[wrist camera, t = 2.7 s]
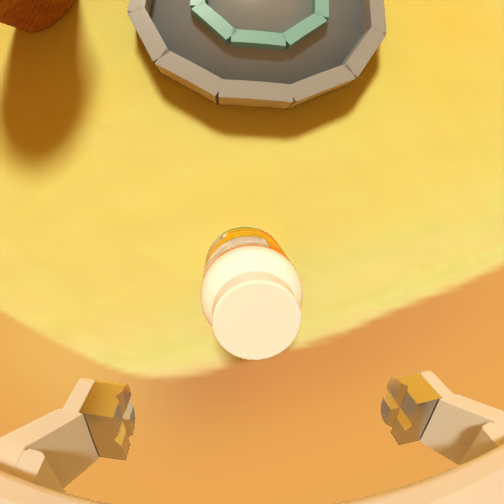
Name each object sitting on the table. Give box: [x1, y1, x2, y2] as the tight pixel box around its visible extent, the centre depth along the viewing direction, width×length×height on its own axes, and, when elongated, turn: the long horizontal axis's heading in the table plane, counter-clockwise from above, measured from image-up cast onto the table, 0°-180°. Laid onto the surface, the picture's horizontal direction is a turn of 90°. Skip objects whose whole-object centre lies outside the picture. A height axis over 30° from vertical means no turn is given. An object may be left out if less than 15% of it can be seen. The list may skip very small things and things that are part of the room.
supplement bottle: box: [201, 226, 303, 360], centre depth 19 cm, size 5×5×10 cm
